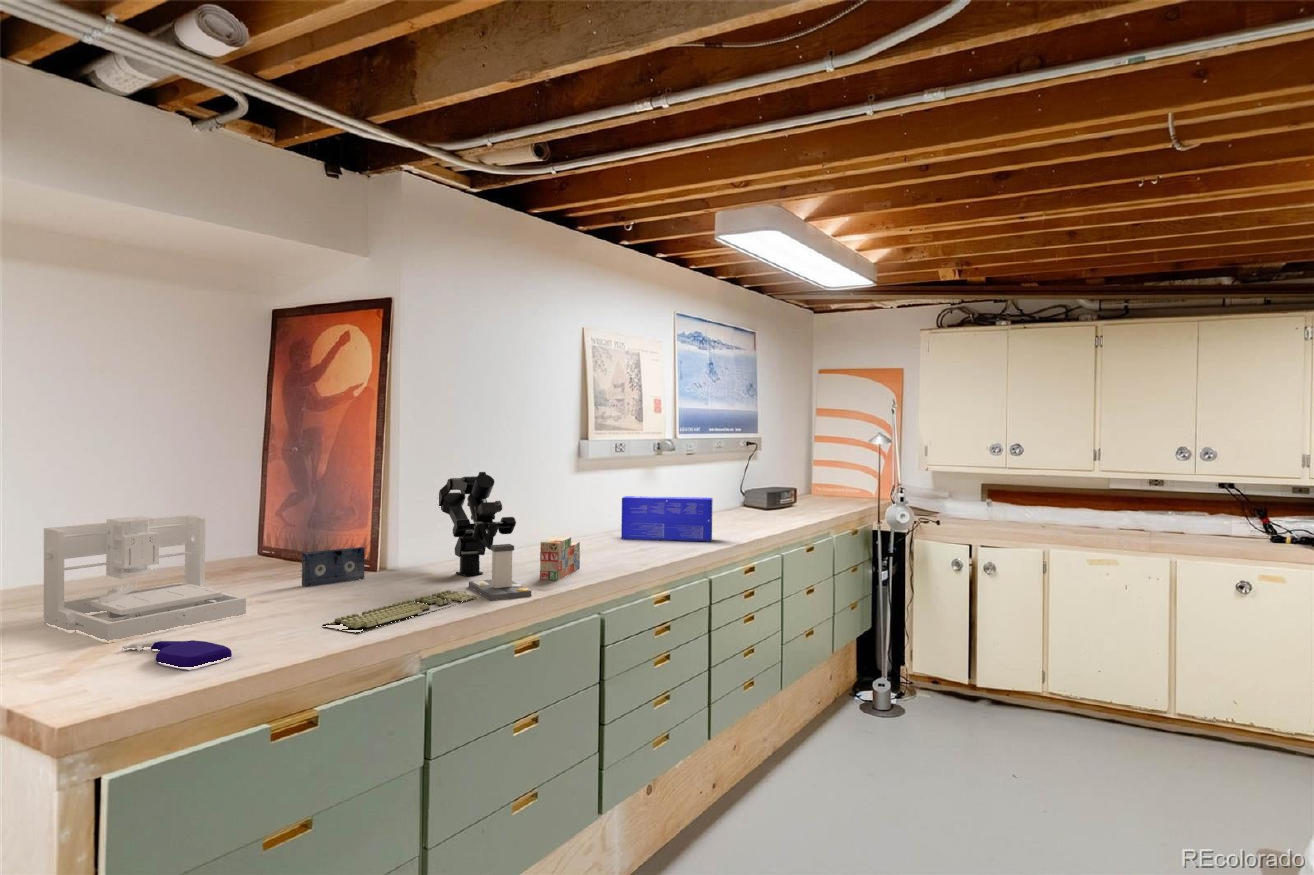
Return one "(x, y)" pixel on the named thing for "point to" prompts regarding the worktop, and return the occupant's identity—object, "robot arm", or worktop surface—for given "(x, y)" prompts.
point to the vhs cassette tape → (332, 566)
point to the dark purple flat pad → (184, 651)
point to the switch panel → (499, 590)
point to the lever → (502, 565)
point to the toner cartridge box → (666, 518)
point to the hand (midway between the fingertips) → (490, 548)
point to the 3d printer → (126, 557)
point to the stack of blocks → (558, 557)
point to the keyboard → (398, 611)
